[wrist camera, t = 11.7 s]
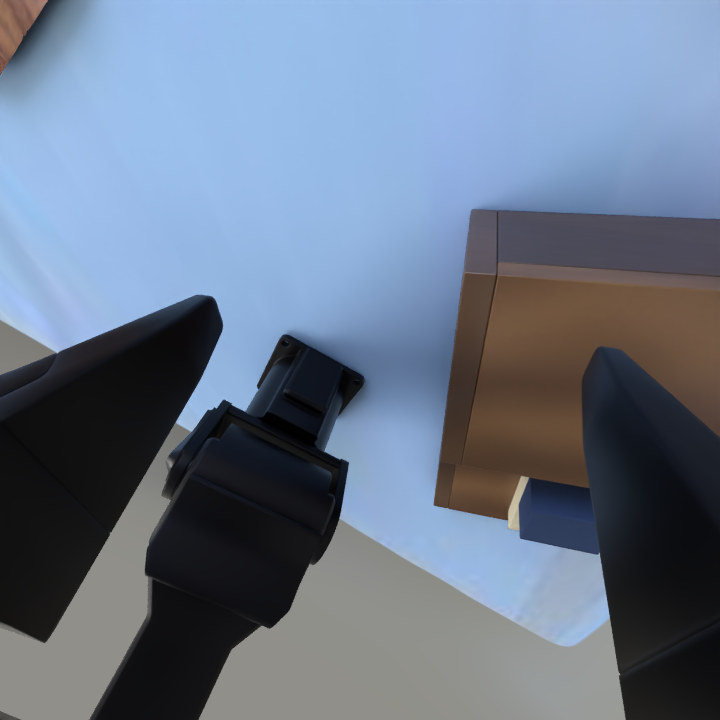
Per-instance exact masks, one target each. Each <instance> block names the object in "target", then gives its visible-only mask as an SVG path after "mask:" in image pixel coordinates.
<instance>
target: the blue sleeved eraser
mask: <svg viewBox="0 0 720 720" xmlns="http://www.w3.org/2000/svg"><path fill="white" fill-rule="evenodd" d="M508 527H509V529H513V530H518V531H520V539H524V540H529V541H534V542H539V543H544V544H548V545H553V546H558V547H563V548H568V549H573V550H577V551H582V552H587V553H592V554H599V552H600V551H599V545H598V539H597V532H596V526H595V520H594V513H593V507H592V500H591V494H590V488H586V487H580V486H575V485H569V484H563V483H558V482H552V481H546V480H541V479H535V478H529V477H524V476H521V478H520V481H519V483H518V486H517V489H516V491H515V494H514V497H513V499H512V502H511V505H510V507H509V510H508Z"/></svg>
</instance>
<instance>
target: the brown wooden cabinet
mask: <svg viewBox="0 0 720 720" xmlns="http://www.w3.org/2000/svg"><path fill="white" fill-rule="evenodd" d="M600 346H604V347H611V348H618V349H621V350H622V351H623V352H625V353H626V354H627V355H628V356H629V357H630V358H631V359H632V360H634V361H635V362H636V363H637V364H638V365H639V366H640V367H641V368H643V369H644V370H645V371H646V372H647V373H648V374H649V375H650V376H652V377H653V378H654V379H655V380H656V381H657V382H658V383H659V384H661V385H662V386H663V387H664V388H665V389H666V390H667V391H668V392H670V393H671V394H672V395H673V396H674V397H675V398H676V399H677V400H679V401H680V402H681V403H682V404H683V405H684V406H685V407H686V408H688V409H689V410H690V411H691V412H692V413H693V414H694V415H695V416H696V417H698V418H699V419H700V420H701V421H702V422H703V423H704V424H705V425H707V426H708V427H709V428H710V429H711V430H712V431H713V432H714V433H716V434H717V435H718V436H719V437H720V219H698V218H673V217H648V216H624V215H599V214H575V213H550V212H526V211H501V210H499V211H498V212H497V211H496V210H471V215H470V223H469V231H468V239H467V246H466V254H465V262H464V270H463V278H462V286H461V293H460V301H459V309H458V317H457V325H456V333H455V340H454V348H453V356H452V364H451V372H450V380H449V388H448V395H447V403H446V411H445V419H444V427H443V435H442V442H441V450H440V458H439V466H438V474H437V482H436V490H435V497H434V506H438V507H443V508H448V509H453V510H458V511H463V512H468V513H473V514H478V515H483V516H488V517H493V518H498V519H503V520H508V510H509V507H510V505H511V502H512V499H513V497H514V494H515V491H516V489H517V486H518V483H519V481H520V478H521V476H524V477H529V478H535V479H541V480H546V481H552V482H558V483H563V484H569V485H575V486H580V487H586V488H589V481H588V475H587V469H586V462H585V456H584V448H583V429H582V378H583V375H584V372H585V370H586V368H587V366H588V364H589V362H590V360H591V358H592V355H593V353H594V351H595V350H596V349H597V348H598V347H600Z"/></svg>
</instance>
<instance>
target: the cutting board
mask: <svg viewBox="0 0 720 720" xmlns="http://www.w3.org/2000/svg"><path fill="white" fill-rule="evenodd" d="M47 1H48V0H0V75H1V73H2V71H3V70H4V68H5V67H6V65H7V63H8V62H9V60H10V59H11V57H12V56H13V54H14V53H15V51H16V49H17V48H18V46H19V44H20V43H21V41H22V40H23V34H24V36H25V35H26V33H27V31H26V29H27V30H29V29H30V27H31V26H32V24H33V23H34V22H35V19H36V18H37V17H38V15H39V14H40V12H41V10H42V9H43V7H44V5H45V3H47Z"/></svg>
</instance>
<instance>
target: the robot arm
mask: <svg viewBox="0 0 720 720" xmlns="http://www.w3.org/2000/svg"><path fill="white" fill-rule="evenodd" d="M222 329H223V322H222V318H221V315H220V312H219V309H218V306H217V303H216V300H215V299H214V298H213V297H211V296H206V295H195V296H193V297H190V298H188V299H185V300H183V301H181V302H178V303H176V304H173V305H171V306H168V307H166V308H164V309H161V310H159V311H156V312H154V313H152V314H149V315H147V316H144V317H142V318H139V319H137V320H135V321H132V322H130V323H127V324H125V325H123V326H120V327H118V328H115V329H113V330H111V331H108V332H106V333H103V334H101V335H98V336H96V337H94V338H91V339H89V340H86V341H84V342H82V343H79V344H77V345H74V346H72V347H70V348H67V349H65V350H62V351H60V352H59V353H58V354H57V353H55V354H53V355H50V356H48V357H45V358H43V359H41V360H38V361H35V362H33V363H30V364H28V365H25V366H23V367H21V368H18V369H16V370H13V371H10V372H7V373H5V374H2V375H0V627H1V628H3V629H6V630H9V631H12V632H15V633H17V634H20V635H23V636H26V637H29V638H32V639H34V640H37V641H40V642H43V643H45V642H46V641H47V640H48V639H49V637H50V636H51V634H52V633H53V631H54V630H55V628H56V626H57V624H58V623H59V621H60V619H61V618H62V616H63V614H64V612H65V611H66V609H67V607H68V606H69V604H70V602H71V601H72V599H73V597H74V595H75V594H76V592H77V590H78V589H79V587H80V585H81V583H82V582H83V580H84V578H85V577H86V575H87V573H88V571H89V570H90V568H91V566H92V564H93V563H94V561H95V559H96V557H97V556H98V554H99V553H100V551H101V549H102V547H103V546H104V544H105V542H106V540H107V539H108V537H109V535H110V532H112V530H113V528H114V527H115V525H116V523H117V521H118V520H119V518H120V516H121V515H122V513H123V511H124V509H125V508H126V506H127V504H128V503H129V501H130V499H131V497H132V496H133V494H134V492H135V490H136V489H137V487H138V486H139V483H140V482H141V480H142V479H143V477H144V475H145V474H146V472H147V470H148V468H149V467H150V465H151V463H152V461H153V460H154V458H155V456H156V455H157V453H158V451H159V450H160V448H161V446H162V445H163V443H164V441H165V439H166V438H167V436H168V434H169V433H170V431H171V429H172V427H173V426H174V424H175V422H176V421H177V419H178V417H179V415H180V414H181V412H182V410H183V409H184V407H185V405H186V404H187V402H188V400H189V398H190V397H191V395H192V393H193V392H194V390H195V388H196V386H197V385H198V383H199V381H200V379H201V377H202V375H203V373H204V371H205V369H206V367H207V364H208V362H209V360H210V358H211V355H212V353H213V351H214V349H215V346H216V344H217V342H218V339H219V337H220V335H221V333H222ZM285 341H286V342H288V343H286V342H285ZM356 380H358V381H356ZM363 383H364V377H363V376H362V375H361V374H359V373H357V372H355V371H353V370H352V369H350V368H348V367H346V366H344V365H342V364H341V363H339V362H337V361H335V360H333V359H332V358H330V357H328V356H326V355H324V354H322V353H321V352H319V351H317V350H315V349H313V348H311V347H310V346H308V345H306V344H304V343H302V342H301V341H299V340H297V339H295V338H293V337H291V336H289V335H282V336H281V338H280V339H279V341H278V343H277V345H276V347H275V349H274V351H273V354H272V356H271V358H270V360H269V362H268V364H267V366H266V368H265V370H264V372H263V374H262V376H261V378H260V380H259V382H258V384H257V387H258V389H259V390H258V392H257V393H256V395H255V397H254V398H253V400H252V402H251V403H250V405H249V407H248V408H247V410H246V412H244V411H242V410H240V409H238V408H236V407H234V406H233V405H232V403H230V402H228V401H226V400H223V401H222V402H221V404H220V405H219V406H218V408H217V409H216V408H213V410H207V412H206V413H205V415H204V416H203V417H202V419H201V420H200V422H199V423H198V425H197V426H196V427H195V429H194V430H193V431H192V432H191V433H190V434H189V435H188V436H187V437H186V438H185V440H183V441H182V442H181V443H180V444H179V445H178V446H177V447H176V448H175V449H174V450H173V451H172V452H171V454H170V455H169V457H168V458H167V460H166V465H167V469H168V476H167V478H166V484H165V486H164V489H163V491H162V496H163V497H165V498H167V499H170V500H171V501H170V503H169V505H168V507H167V509H166V511H165V512H164V514H163V515H162V517H161V519H160V521H159V523H158V524H157V526H156V528H155V529H154V531H153V533H152V535H151V537H150V540H149V546H148V548H147V553H146V564H145V575H146V576H148V613H147V616H146V619H145V620H144V622H143V624H142V626H141V628H140V629H139V631H138V633H137V635H136V637H135V638H134V640H133V642H132V644H131V646H130V647H129V649H128V651H127V653H126V655H125V656H124V658H123V660H122V662H121V663H120V665H119V667H118V669H117V671H116V673H115V674H114V676H113V678H112V680H111V681H110V683H109V685H108V687H107V689H106V691H105V692H104V694H103V696H102V698H101V699H100V701H99V703H98V705H97V707H96V708H95V710H94V712H93V714H92V716H91V717H90V719H89V720H199V717H200V715H201V713H202V711H203V709H204V707H205V704H206V702H207V700H208V698H209V696H210V694H211V691H212V689H213V687H214V685H215V683H216V681H217V679H218V677H219V674H220V672H221V670H222V668H223V666H224V664H225V662H226V660H227V658H228V655H229V653H230V651H231V650H232V649H233V648H234V647H235V646H236V645H238V644H239V643H240V642H241V641H243V640H244V639H245V638H247V637H248V636H249V635H250V634H251V633H253V632H254V631H255V630H257V629H258V628H259V627H260V626H265V627H267V628H272V627H273V626H274V625H275V624H276V623H277V622H278V621H279V620H280V619H281V618H282V617H283V616H284V615H285V614H287V612H288V611H289V610H290V608H291V605H292V602H293V600H294V598H295V595H296V592H297V590H298V587H299V585H300V583H301V581H302V578H303V576H304V574H305V572H306V570H307V568H308V566H309V564H311V565H314V564H316V563H317V562H318V561H319V560H320V558H321V557H322V556H323V554H324V552H325V551H326V549H327V547H328V545H329V543H330V541H331V539H332V537H333V534H334V532H335V529H336V526H337V524H338V521H339V517H340V513H341V508H342V502H343V496H344V490H345V484H346V478H347V472H348V466H349V462H347V461H345V460H343V459H338V458H336V457H334V456H332V455H330V454H328V453H326V452H324V450H325V448H326V445H327V442H328V440H329V437H330V435H331V432H332V429H333V427H334V424H335V421H336V419H337V417H338V415H339V414H340V413H341V412H342V410H343V409H344V408H345V407H346V406H347V404H348V403H349V402H350V401H351V399H352V398H353V397H354V396H355V395H356V393H357V392H358V391H359V390H360V388H361V387H362V386H363ZM582 429H583V448H584V456H585V462H586V469H587V475H588V481H589V488H590V494H591V500H592V507H593V513H594V520H595V526H596V532H597V539H598V545H599V551H600V558H601V564H602V570H603V577H604V583H605V589H606V596H607V602H608V608H609V615H610V621H611V627H612V633H613V640H614V646H615V653H616V659H617V665H618V671H619V673H620V675H619V679H620V686H621V692H622V699H623V704H624V711H625V718H626V720H720V437H719V436H718V435H717V434H716V433H714V432H713V431H712V430H711V429H710V428H709V427H708V426H707V425H705V424H704V423H703V422H702V421H701V420H700V419H699V418H698V417H696V416H695V415H694V414H693V413H692V412H691V411H690V410H689V409H688V408H686V407H685V406H684V405H683V404H682V403H681V402H680V401H679V400H677V399H676V398H675V397H674V396H673V395H672V394H671V393H670V392H668V391H667V390H666V389H665V388H664V387H663V386H662V385H661V384H659V383H658V382H657V381H656V380H655V379H654V378H653V377H652V376H650V375H649V374H648V373H647V372H646V371H645V370H644V369H643V368H641V367H640V366H639V365H638V364H637V363H636V362H635V361H634V360H632V359H631V358H630V357H629V356H628V355H627V354H626V353H625V352H623V351H622V350H621V349H618V348H611V347H604V346H600V347H598V348H597V349H596V350H595V351H594V353H593V355H592V358H591V360H590V362H589V364H588V366H587V368H586V370H585V372H584V375H583V378H582ZM0 720H20V719H18V718H15V717H13V716H10V715H8V714H6V713H3V712H1V711H0Z"/></svg>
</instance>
